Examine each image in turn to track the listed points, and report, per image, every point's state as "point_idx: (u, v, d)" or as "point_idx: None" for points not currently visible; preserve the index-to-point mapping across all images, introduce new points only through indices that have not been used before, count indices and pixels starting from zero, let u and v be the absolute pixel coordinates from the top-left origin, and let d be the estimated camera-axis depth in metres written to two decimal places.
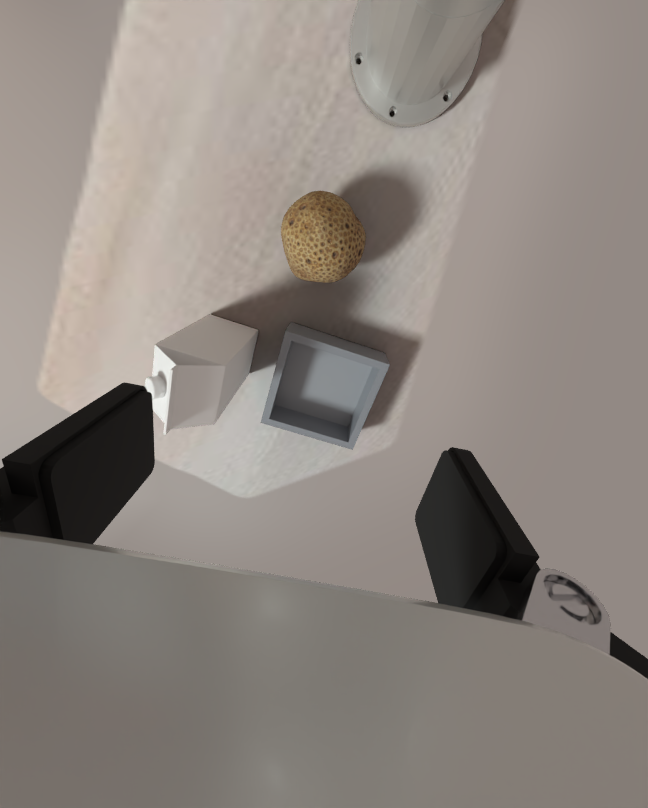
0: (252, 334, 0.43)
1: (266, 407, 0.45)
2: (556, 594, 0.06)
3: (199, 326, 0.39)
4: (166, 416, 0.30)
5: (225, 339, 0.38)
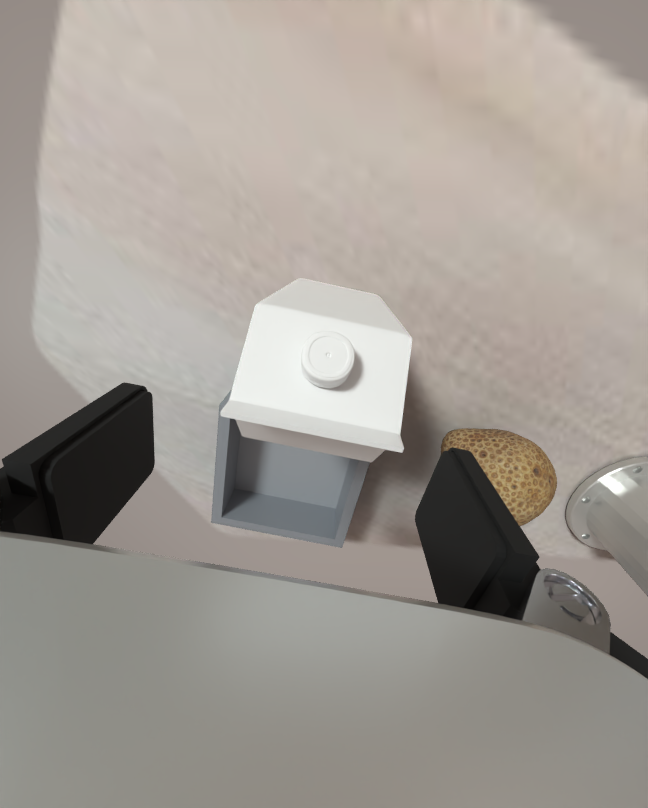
0: None
1: None
2: (556, 594, 0.06)
3: None
4: (276, 424, 0.12)
5: None
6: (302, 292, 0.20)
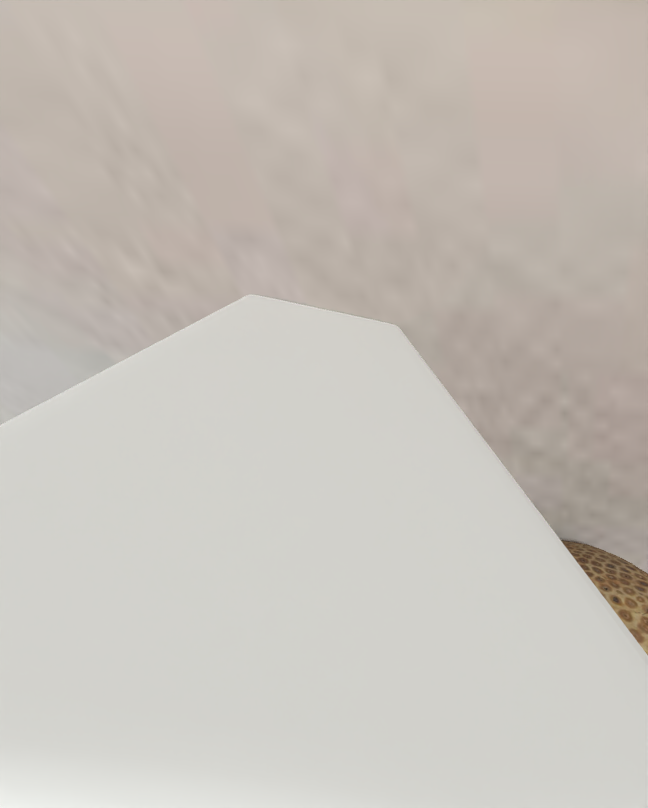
0: None
1: None
2: None
3: None
4: None
5: None
6: (207, 358, 0.07)
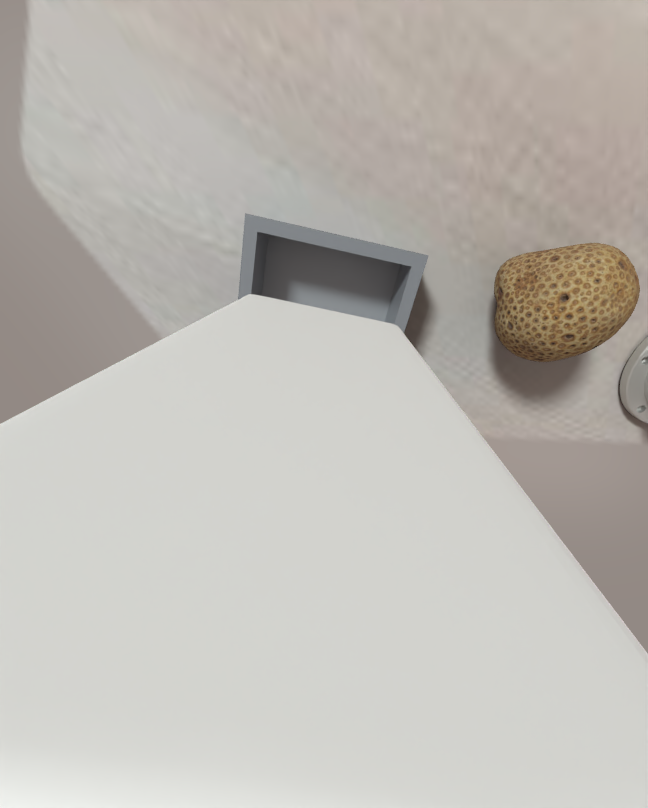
0: None
1: (280, 225, 0.24)
2: None
3: None
4: None
5: None
6: (207, 358, 0.07)
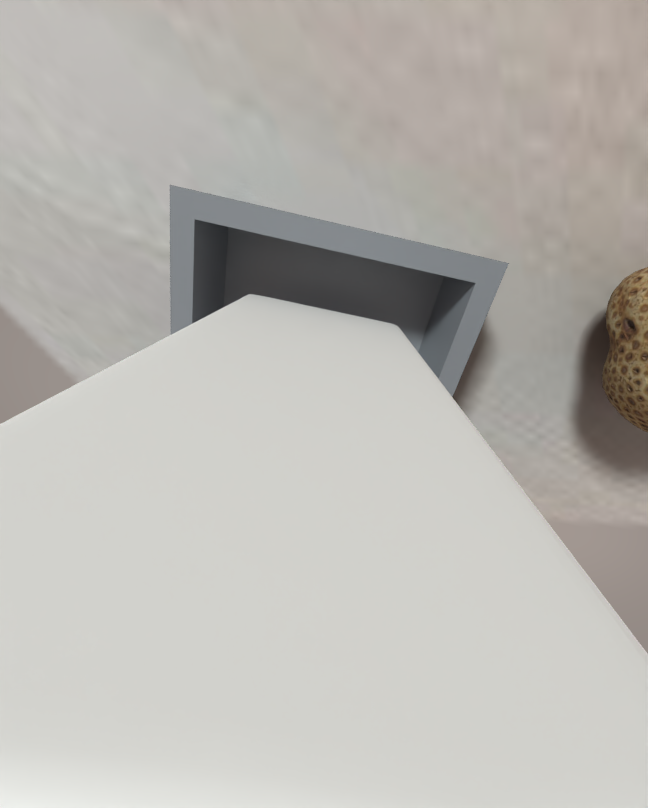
0: None
1: (236, 206, 0.13)
2: None
3: None
4: None
5: None
6: (207, 358, 0.07)
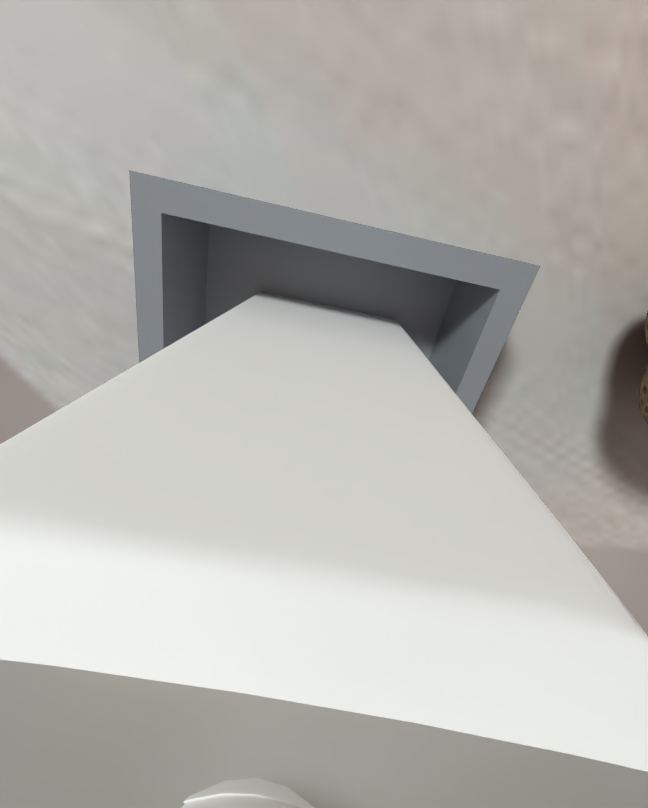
0: None
1: (211, 197, 0.11)
2: None
3: None
4: None
5: None
6: (236, 344, 0.08)
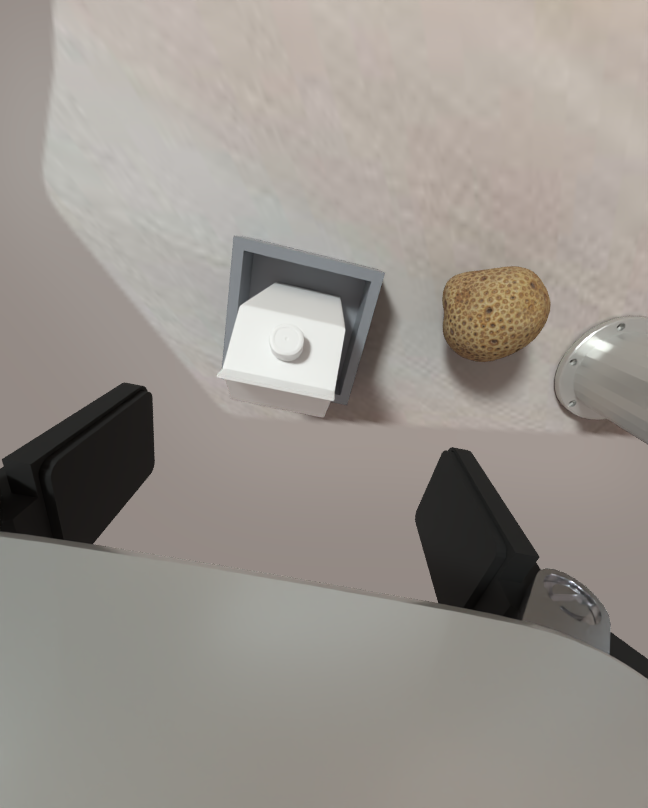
0: None
1: (263, 245, 0.29)
2: (556, 594, 0.06)
3: None
4: (253, 383, 0.19)
5: None
6: (275, 295, 0.27)
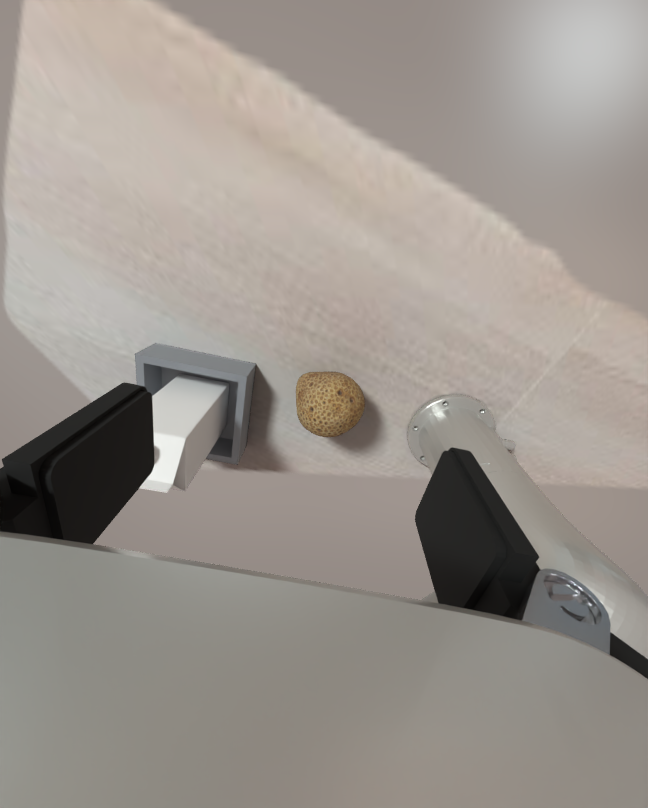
0: (220, 434, 0.46)
1: (156, 359, 0.40)
2: (556, 594, 0.06)
3: (214, 408, 0.41)
4: None
5: (208, 440, 0.41)
6: (158, 402, 0.38)
